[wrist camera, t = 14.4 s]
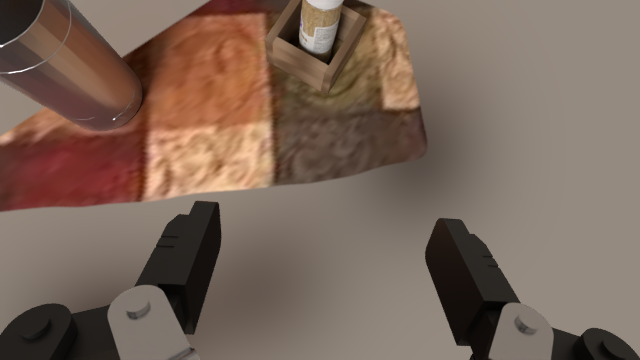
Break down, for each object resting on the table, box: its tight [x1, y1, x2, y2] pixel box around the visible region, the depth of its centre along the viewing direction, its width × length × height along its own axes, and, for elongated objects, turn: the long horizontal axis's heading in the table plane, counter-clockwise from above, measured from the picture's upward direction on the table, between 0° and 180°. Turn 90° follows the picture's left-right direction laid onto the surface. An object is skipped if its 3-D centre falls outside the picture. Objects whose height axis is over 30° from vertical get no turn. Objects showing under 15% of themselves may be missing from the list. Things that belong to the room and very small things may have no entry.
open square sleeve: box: [265, 0, 367, 95], centre depth 43 cm, size 9×9×5 cm
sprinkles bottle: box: [298, 0, 344, 64], centre depth 38 cm, size 5×5×13 cm
